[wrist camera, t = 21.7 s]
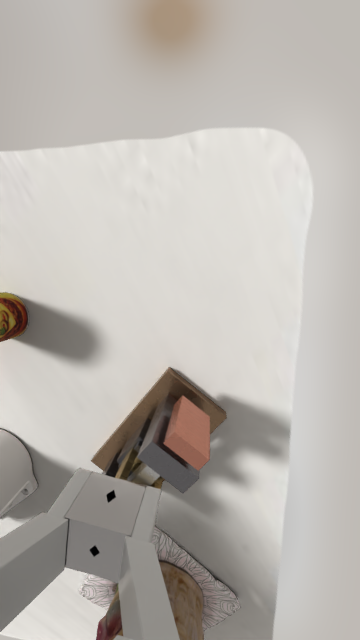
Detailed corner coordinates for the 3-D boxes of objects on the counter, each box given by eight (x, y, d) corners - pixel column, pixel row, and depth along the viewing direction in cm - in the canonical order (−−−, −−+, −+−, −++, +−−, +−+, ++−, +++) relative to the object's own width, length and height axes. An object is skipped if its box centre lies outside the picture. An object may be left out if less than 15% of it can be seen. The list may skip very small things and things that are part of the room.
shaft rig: (145, 493, 44) (120, 578, 32) (94, 454, 44) (50, 524, 32) (225, 412, 39) (232, 475, 26) (169, 367, 38) (149, 410, 26)
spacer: (155, 481, 36) (144, 521, 30) (124, 457, 36) (107, 493, 30) (164, 471, 35) (155, 510, 29) (133, 447, 35) (117, 482, 29)
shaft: (135, 493, 38) (116, 550, 30) (111, 474, 38) (85, 526, 30) (209, 416, 34) (209, 459, 26) (182, 395, 34) (174, 431, 26)
